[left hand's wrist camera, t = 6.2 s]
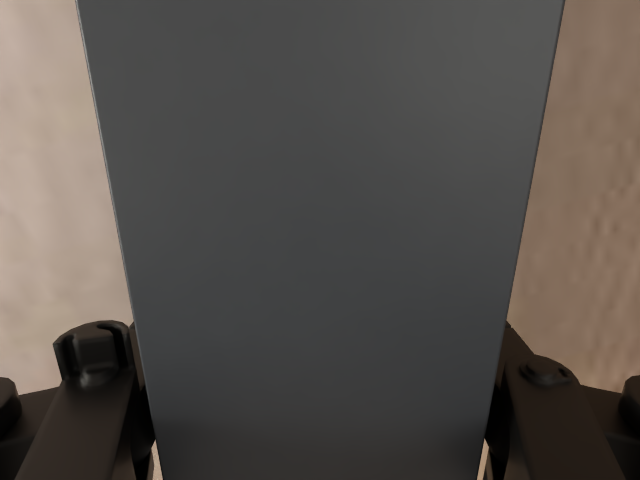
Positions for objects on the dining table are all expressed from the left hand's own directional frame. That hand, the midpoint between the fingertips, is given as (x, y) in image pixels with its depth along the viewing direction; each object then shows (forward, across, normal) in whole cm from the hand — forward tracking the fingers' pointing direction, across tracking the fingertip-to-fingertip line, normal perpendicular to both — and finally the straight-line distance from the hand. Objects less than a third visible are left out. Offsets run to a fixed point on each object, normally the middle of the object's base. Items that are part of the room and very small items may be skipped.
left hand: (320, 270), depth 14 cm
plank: (0, 0, -19) cm, 19 cm away
